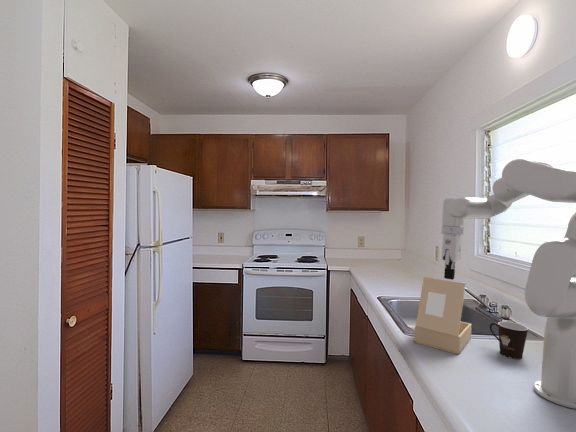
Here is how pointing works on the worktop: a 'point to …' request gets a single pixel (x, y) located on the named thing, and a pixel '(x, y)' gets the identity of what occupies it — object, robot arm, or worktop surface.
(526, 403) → the worktop surface
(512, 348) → the coffee mug
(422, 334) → the tan shallow rectangular box
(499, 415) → the worktop surface
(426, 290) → the lid
